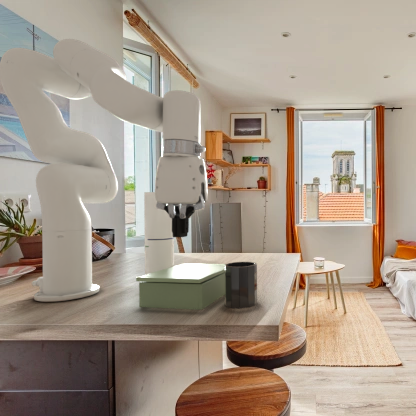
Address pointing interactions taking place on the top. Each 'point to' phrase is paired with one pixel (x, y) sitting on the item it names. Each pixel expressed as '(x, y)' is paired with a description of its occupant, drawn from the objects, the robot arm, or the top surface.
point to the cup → (240, 284)
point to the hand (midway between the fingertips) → (180, 236)
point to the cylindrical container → (157, 236)
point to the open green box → (181, 293)
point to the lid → (185, 273)
